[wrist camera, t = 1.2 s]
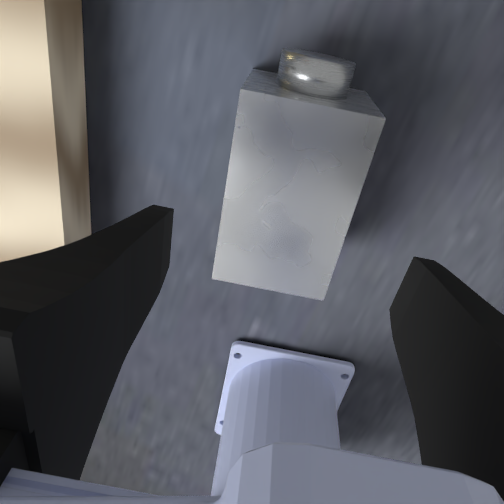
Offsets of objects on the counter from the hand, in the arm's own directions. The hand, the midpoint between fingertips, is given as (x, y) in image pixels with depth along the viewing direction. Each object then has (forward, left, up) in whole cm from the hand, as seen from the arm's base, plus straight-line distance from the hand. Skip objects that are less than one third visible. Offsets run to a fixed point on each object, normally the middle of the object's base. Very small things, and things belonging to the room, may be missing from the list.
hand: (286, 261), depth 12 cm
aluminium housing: (0, 0, -9) cm, 9 cm away
